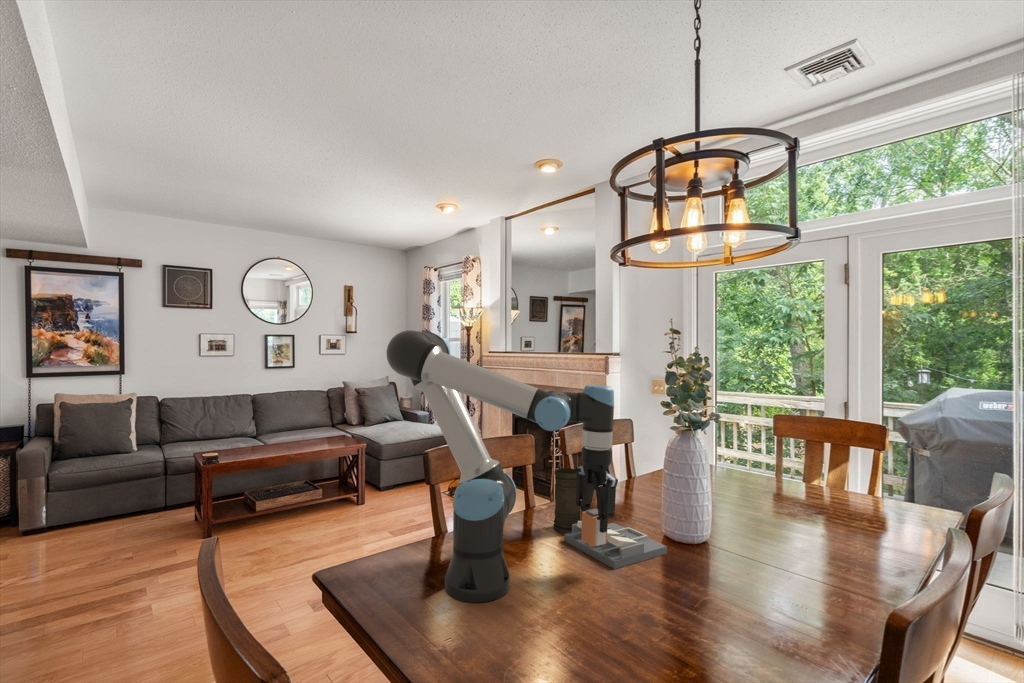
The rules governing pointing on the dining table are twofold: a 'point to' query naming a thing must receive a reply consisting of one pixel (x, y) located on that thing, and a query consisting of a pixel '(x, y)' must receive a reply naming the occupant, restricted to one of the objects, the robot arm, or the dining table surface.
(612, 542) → the rocker near
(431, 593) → the dining table surface
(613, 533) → the plate
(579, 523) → the rocker far
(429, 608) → the dining table surface
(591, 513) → the orange block
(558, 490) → the container
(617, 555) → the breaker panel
